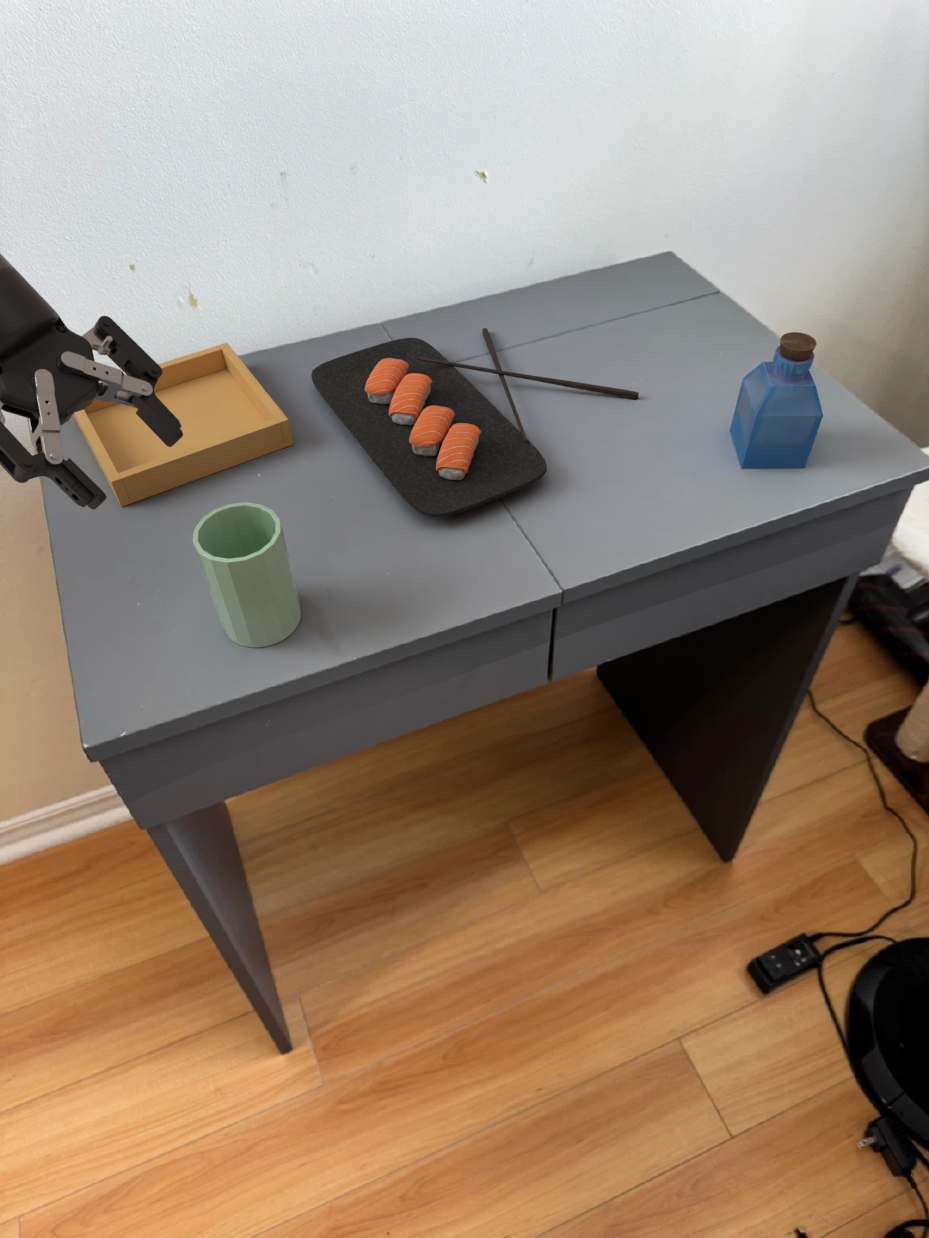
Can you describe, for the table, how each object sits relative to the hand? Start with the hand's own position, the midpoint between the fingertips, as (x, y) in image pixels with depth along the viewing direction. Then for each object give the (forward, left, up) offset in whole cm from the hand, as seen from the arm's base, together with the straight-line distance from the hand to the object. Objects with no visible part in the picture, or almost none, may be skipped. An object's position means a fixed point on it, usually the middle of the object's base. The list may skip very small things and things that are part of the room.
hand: (140, 471), depth 68 cm
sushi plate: (+36, +7, -13) cm, 39 cm away
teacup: (+4, -8, -12) cm, 15 cm away
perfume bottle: (+56, -14, -13) cm, 59 cm away
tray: (+7, +21, -12) cm, 26 cm away
